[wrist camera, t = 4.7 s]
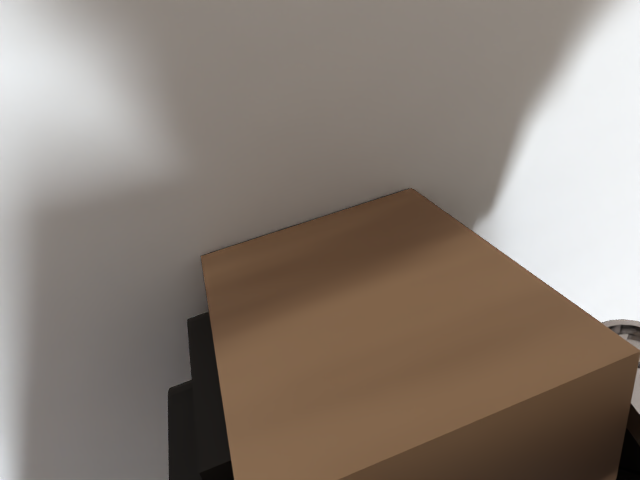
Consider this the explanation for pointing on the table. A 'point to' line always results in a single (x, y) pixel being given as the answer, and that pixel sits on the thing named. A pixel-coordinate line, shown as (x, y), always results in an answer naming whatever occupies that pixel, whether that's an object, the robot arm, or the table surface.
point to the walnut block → (408, 356)
